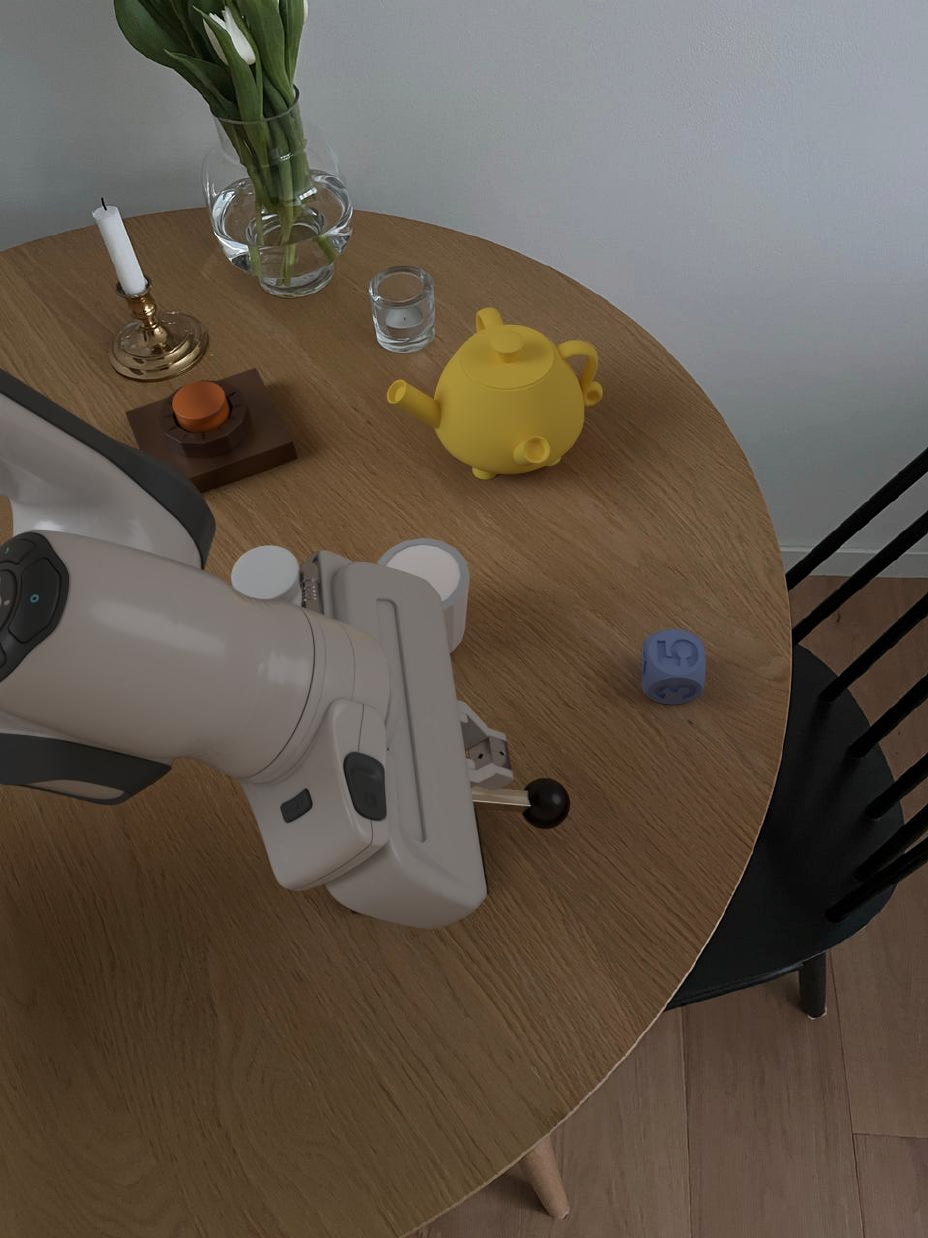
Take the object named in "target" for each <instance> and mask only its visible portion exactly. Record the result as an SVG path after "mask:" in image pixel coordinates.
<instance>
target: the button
mask: <svg viewBox="0 0 928 1238" xmlns="http://www.w3.org/2000/svg"><path fill="white" fill-rule="evenodd" d="M198 381H199V382H198ZM198 381H194V382H190V383H188V384H185V385H183V386H184V387H183V386H182V387H183V388H181V389H180V390H179V391H178V392H177V393H176V394H175V396H174V398H173V402H172V406H173V409H174V412H175V415H176V417H177V420H178V423H179V424H180V426H181V427H182V428H183V429H185V430H187V431H189V432H192V433H205V432H208V431H211V430H214V429H217V428H219V427H220V426H221V425H222V424H223V423H225V421H226V420H227V418H228V416H229V405H228V402H227V399H226V396H225V393H224V391H223V389H222V388H221V387H220V386H219V385H217V384H215V383H212V382H208V381H201V380H198Z"/></svg>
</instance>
